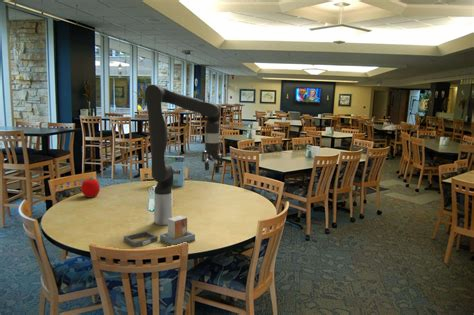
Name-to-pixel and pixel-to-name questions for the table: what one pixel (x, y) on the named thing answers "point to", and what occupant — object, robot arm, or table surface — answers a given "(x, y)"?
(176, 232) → the small box
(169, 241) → the tray
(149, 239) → the clip holder
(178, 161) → the gum box
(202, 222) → the table surface
